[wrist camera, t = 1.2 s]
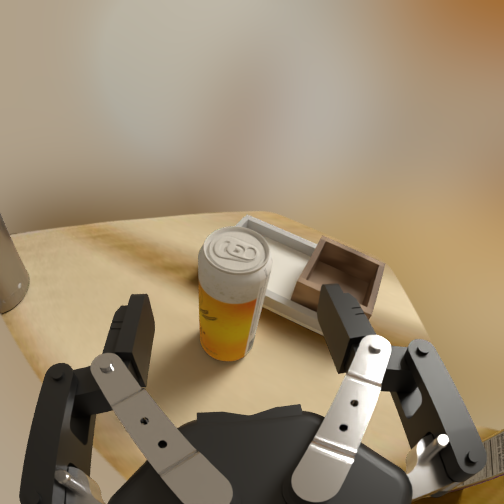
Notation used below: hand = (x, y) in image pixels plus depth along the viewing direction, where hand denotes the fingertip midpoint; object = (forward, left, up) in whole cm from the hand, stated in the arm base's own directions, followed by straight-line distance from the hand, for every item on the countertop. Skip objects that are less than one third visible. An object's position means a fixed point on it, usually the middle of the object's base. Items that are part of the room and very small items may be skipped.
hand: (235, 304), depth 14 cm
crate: (+5, +21, -20) cm, 29 cm away
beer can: (-4, +8, -21) cm, 23 cm away
